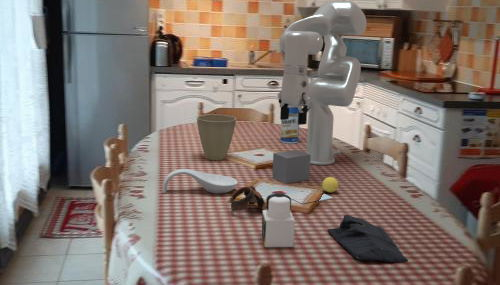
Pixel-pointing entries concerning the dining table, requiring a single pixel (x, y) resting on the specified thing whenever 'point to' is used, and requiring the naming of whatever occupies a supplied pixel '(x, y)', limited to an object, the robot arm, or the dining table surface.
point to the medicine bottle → (278, 222)
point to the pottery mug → (247, 198)
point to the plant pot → (216, 135)
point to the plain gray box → (291, 166)
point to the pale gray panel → (325, 197)
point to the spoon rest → (205, 181)
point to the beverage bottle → (290, 126)
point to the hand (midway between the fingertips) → (293, 121)
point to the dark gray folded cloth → (366, 241)
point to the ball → (330, 184)
